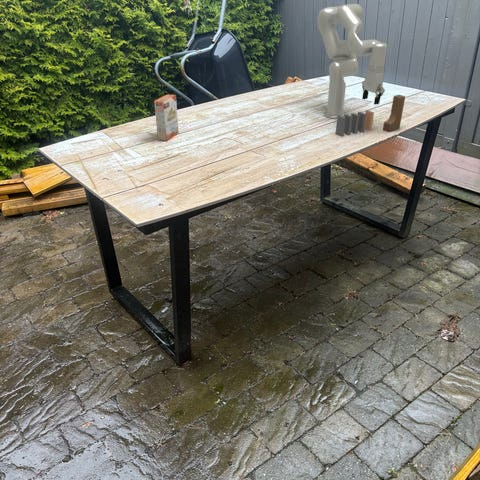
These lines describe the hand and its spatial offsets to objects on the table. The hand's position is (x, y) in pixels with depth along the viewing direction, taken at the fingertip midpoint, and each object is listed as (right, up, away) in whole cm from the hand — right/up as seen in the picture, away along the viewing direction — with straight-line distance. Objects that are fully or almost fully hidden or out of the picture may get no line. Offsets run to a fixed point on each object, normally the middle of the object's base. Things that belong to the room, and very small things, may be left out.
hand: (370, 101), depth 245 cm
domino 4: (-4, -14, +6) cm, 16 cm away
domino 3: (-8, -16, +4) cm, 18 cm away
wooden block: (+14, -13, +7) cm, 20 cm away
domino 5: (0, -13, +8) cm, 15 cm away
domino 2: (-13, -17, +2) cm, 21 cm away
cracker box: (-109, -19, +1) cm, 111 cm away
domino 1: (-17, -18, +1) cm, 24 cm away
